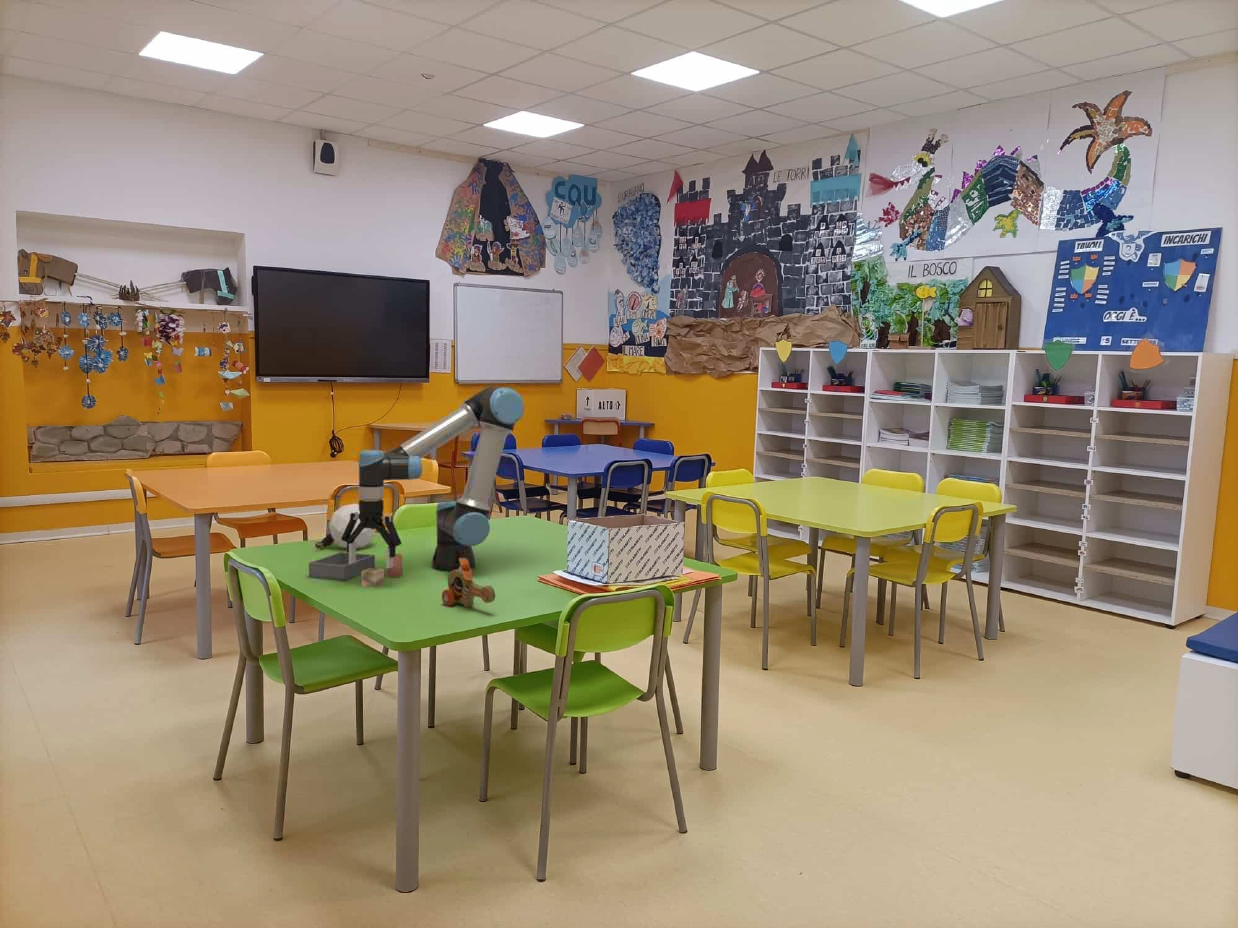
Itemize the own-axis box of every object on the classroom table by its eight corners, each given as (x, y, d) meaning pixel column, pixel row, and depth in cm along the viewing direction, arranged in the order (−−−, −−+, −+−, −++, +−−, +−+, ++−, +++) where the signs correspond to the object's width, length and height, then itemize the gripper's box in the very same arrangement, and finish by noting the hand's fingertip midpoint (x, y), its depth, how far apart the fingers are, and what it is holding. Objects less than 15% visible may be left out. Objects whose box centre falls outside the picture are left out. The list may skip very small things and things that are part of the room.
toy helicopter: (461, 598, 264) (461, 554, 262) (504, 612, 250) (504, 566, 248) (439, 603, 258) (438, 558, 257) (481, 618, 244) (481, 570, 242)
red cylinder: (405, 574, 292) (405, 554, 291) (397, 578, 287) (397, 557, 286) (392, 573, 293) (391, 553, 292) (384, 577, 288) (383, 556, 288)
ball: (376, 536, 321) (346, 480, 322) (318, 569, 321) (288, 513, 323) (391, 534, 338) (362, 481, 340) (335, 565, 339) (307, 512, 340)
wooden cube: (384, 584, 279) (383, 569, 279) (375, 588, 275) (375, 572, 274) (370, 583, 281) (370, 567, 280) (361, 586, 276) (361, 571, 275)
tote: (340, 565, 303) (340, 551, 302) (375, 569, 299) (374, 554, 298) (309, 577, 286) (308, 562, 285) (344, 581, 282) (344, 566, 281)
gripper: (412, 500, 274) (411, 566, 277) (344, 494, 282) (344, 559, 284) (399, 503, 267) (399, 571, 270) (330, 497, 274) (330, 563, 277)
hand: (371, 565), depth 277 cm, fingers open, 13 cm apart
